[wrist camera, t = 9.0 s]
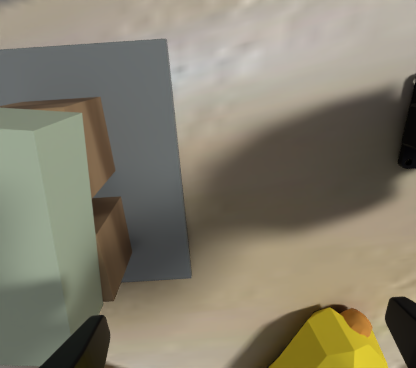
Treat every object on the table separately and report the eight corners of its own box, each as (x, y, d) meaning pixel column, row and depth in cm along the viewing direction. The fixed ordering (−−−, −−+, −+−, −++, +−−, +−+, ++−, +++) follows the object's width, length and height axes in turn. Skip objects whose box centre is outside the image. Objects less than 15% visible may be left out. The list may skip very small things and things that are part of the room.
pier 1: (100, 96, 17) (63, 107, 13) (115, 170, 19) (88, 203, 15) (21, 101, 17) (-44, 114, 13) (45, 175, 19) (-5, 208, 15)
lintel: (82, 112, 13) (33, 130, 9) (103, 304, 18) (76, 367, 14) (-29, 105, 13) (-124, 121, 9) (22, 301, 17) (-26, 364, 14)
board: (166, 39, 17) (165, 38, 16) (191, 273, 24) (191, 278, 23) (-62, 54, 17) (-71, 54, 16) (30, 282, 24) (27, 288, 23)
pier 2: (120, 196, 20) (96, 234, 15) (132, 252, 22) (113, 301, 17) (53, 200, 20) (8, 240, 16) (70, 256, 22) (35, 305, 17)
